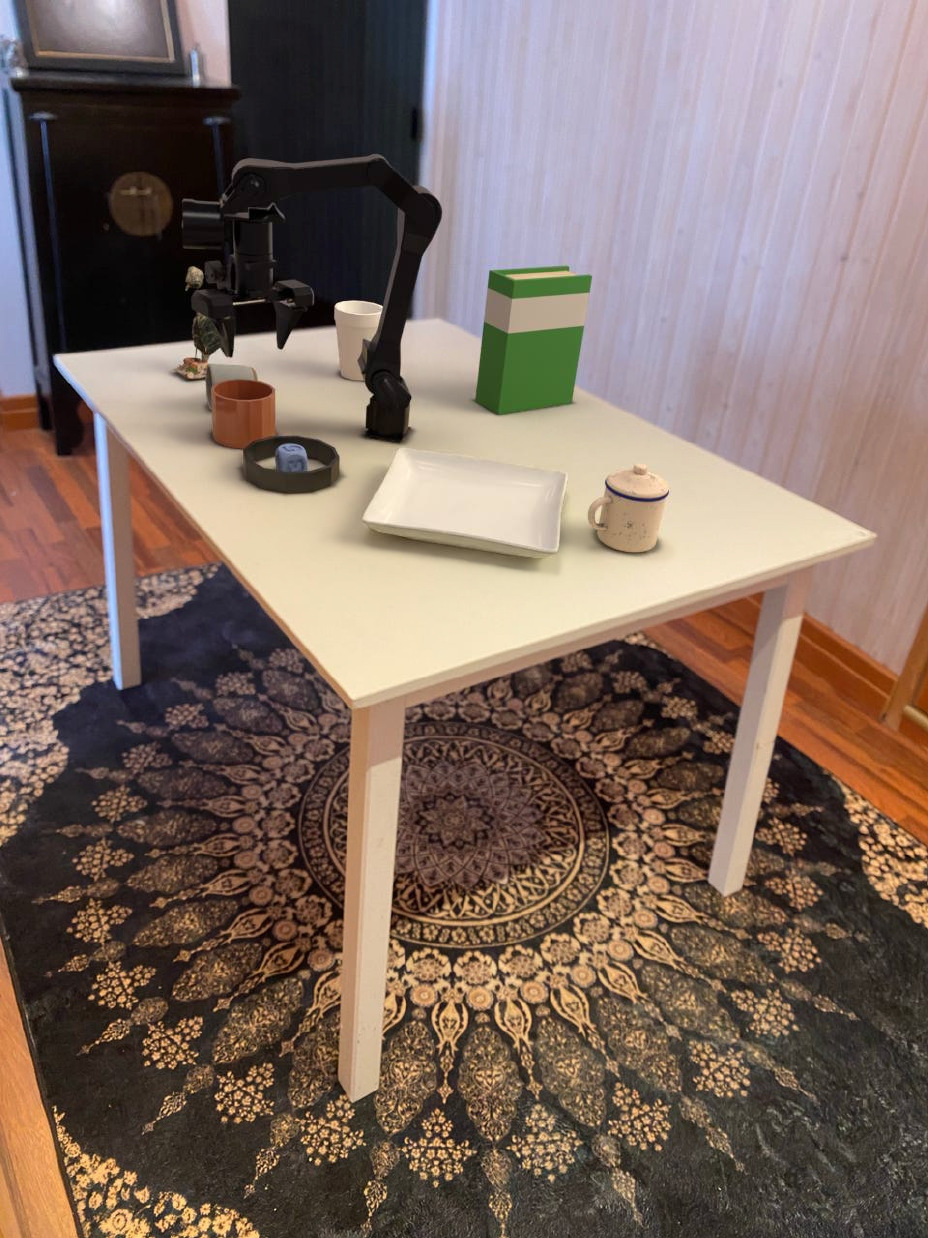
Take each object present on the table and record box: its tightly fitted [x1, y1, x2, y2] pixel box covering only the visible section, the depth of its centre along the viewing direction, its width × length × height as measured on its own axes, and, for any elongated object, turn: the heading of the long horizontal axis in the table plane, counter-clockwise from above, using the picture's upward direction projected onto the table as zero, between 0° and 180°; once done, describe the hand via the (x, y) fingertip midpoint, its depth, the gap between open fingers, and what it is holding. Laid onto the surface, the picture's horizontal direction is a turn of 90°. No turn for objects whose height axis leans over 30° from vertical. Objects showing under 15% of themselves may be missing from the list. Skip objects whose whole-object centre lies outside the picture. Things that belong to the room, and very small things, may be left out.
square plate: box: [361, 447, 569, 559], centre depth 148 cm, size 27×27×4 cm
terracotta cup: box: [211, 379, 276, 450], centre depth 163 cm, size 10×10×8 cm
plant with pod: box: [172, 266, 229, 380], centre depth 184 cm, size 8×11×20 cm
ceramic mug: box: [205, 363, 259, 411], centre depth 175 cm, size 11×8×8 cm
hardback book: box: [474, 265, 593, 415], centre depth 186 cm, size 18×7×24 cm, turn 124°
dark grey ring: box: [242, 434, 341, 494], centre depth 155 cm, size 14×14×3 cm
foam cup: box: [333, 300, 383, 382], centre depth 193 cm, size 10×9×13 cm
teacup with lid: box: [587, 463, 670, 553], centre depth 144 cm, size 12×9×12 cm
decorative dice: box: [274, 444, 309, 472], centre depth 154 cm, size 4×4×4 cm
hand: (255, 352), depth 161 cm, fingers open, 9 cm apart
